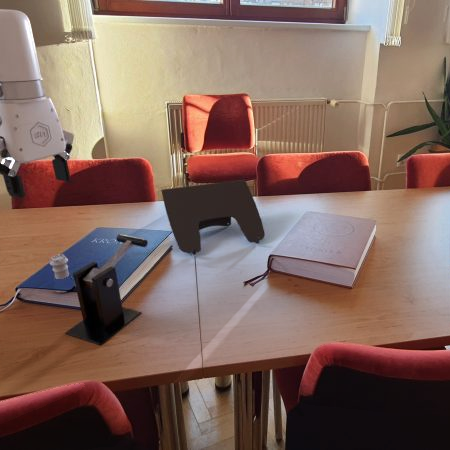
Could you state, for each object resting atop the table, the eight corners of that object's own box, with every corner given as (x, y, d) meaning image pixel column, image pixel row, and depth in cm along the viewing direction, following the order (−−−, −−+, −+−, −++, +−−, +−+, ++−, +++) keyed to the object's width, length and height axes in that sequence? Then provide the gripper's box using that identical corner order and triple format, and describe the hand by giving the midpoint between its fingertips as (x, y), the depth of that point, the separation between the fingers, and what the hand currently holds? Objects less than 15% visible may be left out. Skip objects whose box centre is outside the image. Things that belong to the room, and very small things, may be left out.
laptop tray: (178, 276, 108) (178, 253, 101) (161, 207, 120) (160, 183, 114) (267, 259, 116) (272, 237, 109) (242, 196, 129) (246, 173, 122)
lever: (124, 239, 85) (119, 230, 83) (149, 245, 83) (145, 236, 81) (80, 286, 76) (73, 277, 75) (107, 293, 74) (101, 284, 73)
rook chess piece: (80, 285, 92) (73, 251, 89) (74, 297, 88) (66, 261, 85) (57, 286, 92) (49, 252, 88) (50, 298, 88) (41, 263, 84)
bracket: (108, 307, 85) (98, 253, 80) (142, 317, 82) (133, 261, 78) (66, 338, 77) (51, 279, 72) (102, 350, 74) (89, 289, 69)
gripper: (-17, 99, 65) (12, 207, 72) (77, 87, 80) (93, 177, 87) (-50, 96, 68) (-19, 200, 75) (46, 84, 83) (65, 172, 90)
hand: (41, 188), depth 81 cm, fingers open, 9 cm apart
